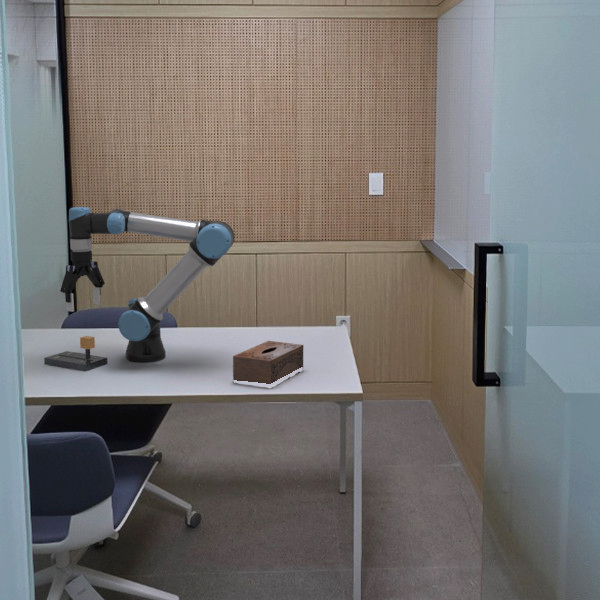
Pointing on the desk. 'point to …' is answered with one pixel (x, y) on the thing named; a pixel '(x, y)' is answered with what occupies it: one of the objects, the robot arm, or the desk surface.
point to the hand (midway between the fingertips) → (84, 308)
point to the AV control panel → (75, 361)
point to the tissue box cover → (267, 362)
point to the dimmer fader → (87, 344)
